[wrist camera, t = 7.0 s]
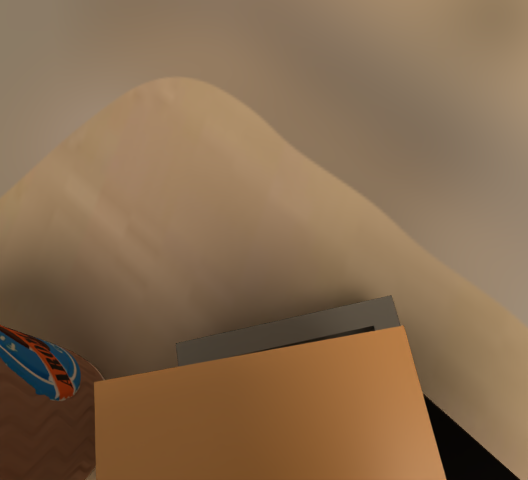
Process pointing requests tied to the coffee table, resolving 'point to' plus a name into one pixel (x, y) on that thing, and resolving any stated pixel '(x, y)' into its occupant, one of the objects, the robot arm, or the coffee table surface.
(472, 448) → the robot arm
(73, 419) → the coffee cup
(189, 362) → the grey tray
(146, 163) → the coffee table surface
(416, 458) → the orange rectangular pillar
